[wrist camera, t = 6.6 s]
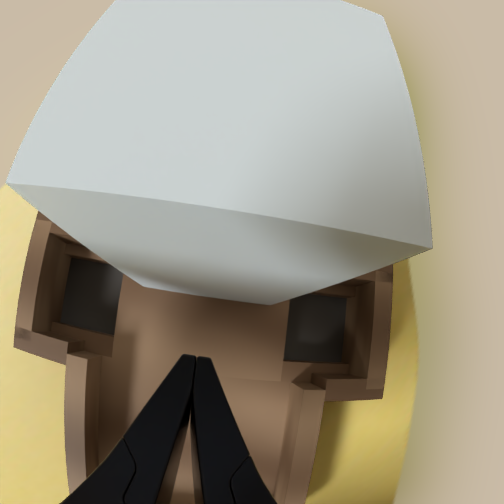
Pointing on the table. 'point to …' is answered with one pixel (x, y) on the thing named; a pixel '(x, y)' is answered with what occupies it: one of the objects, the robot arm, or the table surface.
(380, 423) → the table surface
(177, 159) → the block
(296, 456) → the brown compartment tray
